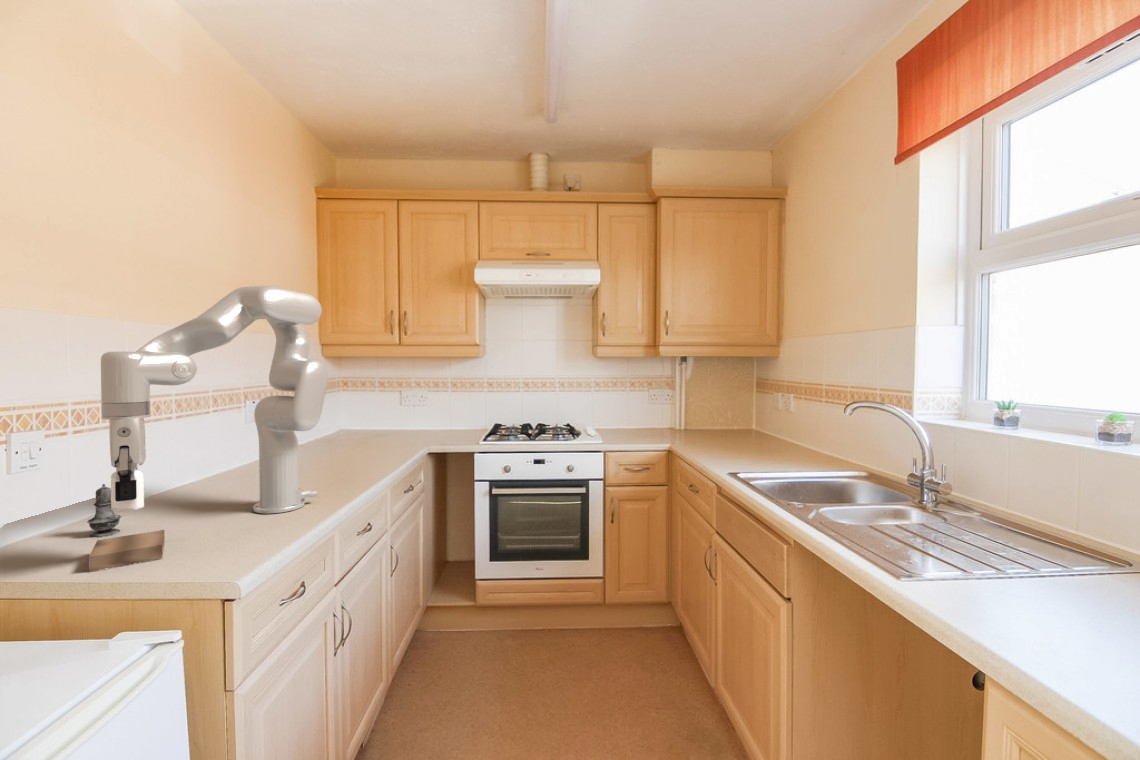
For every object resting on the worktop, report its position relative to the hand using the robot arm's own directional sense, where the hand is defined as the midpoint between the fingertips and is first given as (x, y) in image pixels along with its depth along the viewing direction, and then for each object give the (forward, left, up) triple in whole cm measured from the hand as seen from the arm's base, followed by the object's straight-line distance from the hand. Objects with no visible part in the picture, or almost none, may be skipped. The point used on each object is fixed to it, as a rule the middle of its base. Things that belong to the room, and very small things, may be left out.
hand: (127, 496), depth 103 cm
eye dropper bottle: (0, 0, -3) cm, 3 cm away
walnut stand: (0, 0, -13) cm, 13 cm away
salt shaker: (+6, -21, -13) cm, 25 cm away
